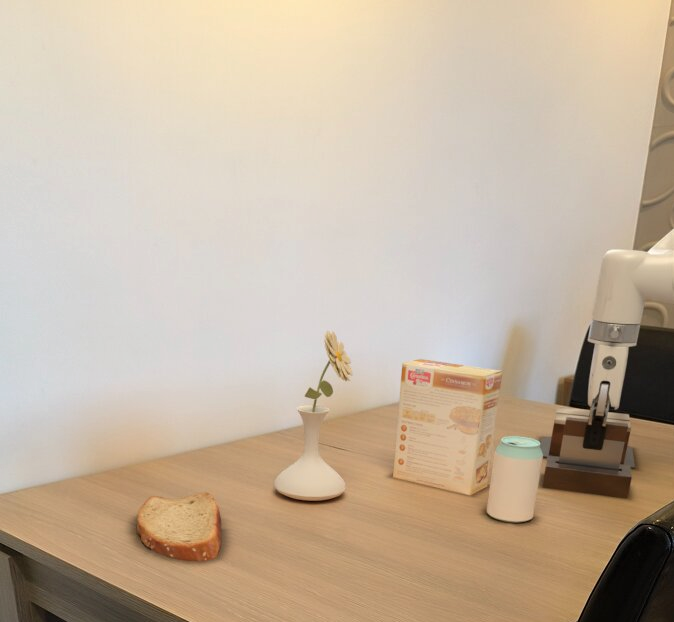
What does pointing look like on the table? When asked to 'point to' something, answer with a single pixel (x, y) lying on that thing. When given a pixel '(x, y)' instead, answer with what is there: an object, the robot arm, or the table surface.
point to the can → (514, 479)
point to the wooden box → (554, 443)
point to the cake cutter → (601, 459)
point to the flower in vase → (316, 439)
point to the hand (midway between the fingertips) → (592, 445)
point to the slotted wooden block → (587, 479)
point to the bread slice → (181, 527)
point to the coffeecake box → (446, 425)
